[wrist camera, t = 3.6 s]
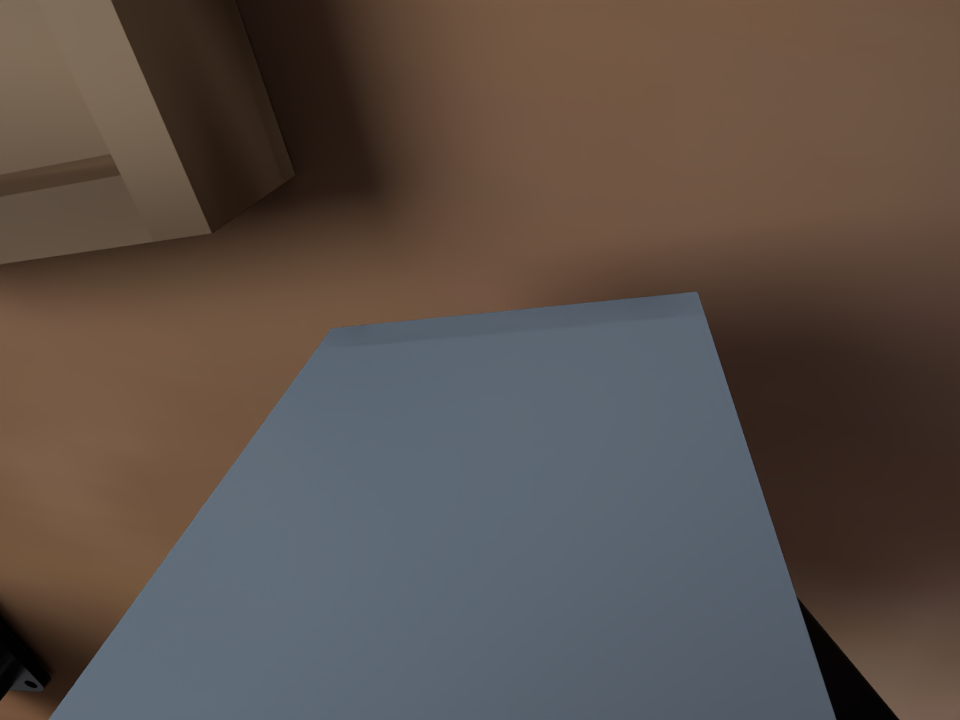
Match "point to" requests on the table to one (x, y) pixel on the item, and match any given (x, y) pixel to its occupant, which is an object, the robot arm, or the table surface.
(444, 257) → the table surface
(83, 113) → the walnut crate
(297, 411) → the small crate
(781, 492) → the table surface
